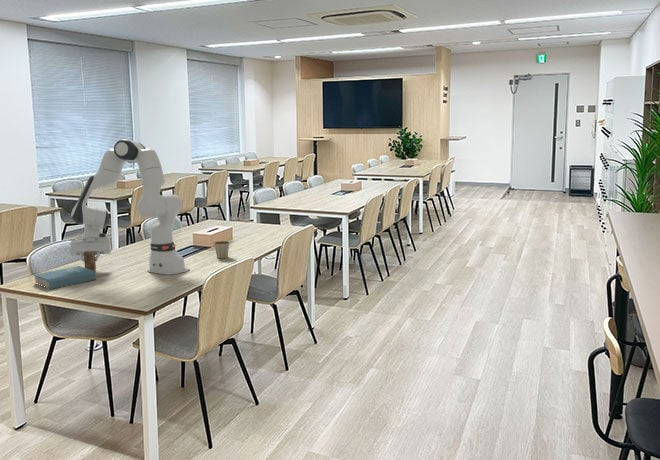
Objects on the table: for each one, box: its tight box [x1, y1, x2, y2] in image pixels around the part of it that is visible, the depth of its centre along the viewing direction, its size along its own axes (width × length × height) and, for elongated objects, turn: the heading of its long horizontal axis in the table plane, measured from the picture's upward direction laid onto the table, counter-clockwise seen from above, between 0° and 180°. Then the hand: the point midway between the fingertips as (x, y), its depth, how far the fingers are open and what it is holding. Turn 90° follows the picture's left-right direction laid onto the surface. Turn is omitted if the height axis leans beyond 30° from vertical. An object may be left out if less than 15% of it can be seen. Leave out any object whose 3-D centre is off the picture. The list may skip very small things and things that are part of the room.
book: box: [33, 265, 97, 290], centre depth 294 cm, size 23×16×5 cm
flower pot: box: [213, 240, 231, 259], centre depth 344 cm, size 9×9×9 cm
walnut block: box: [83, 251, 97, 272], centre depth 312 cm, size 4×4×10 cm
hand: (89, 260), depth 311 cm, fingers closed on walnut block, 4 cm apart
